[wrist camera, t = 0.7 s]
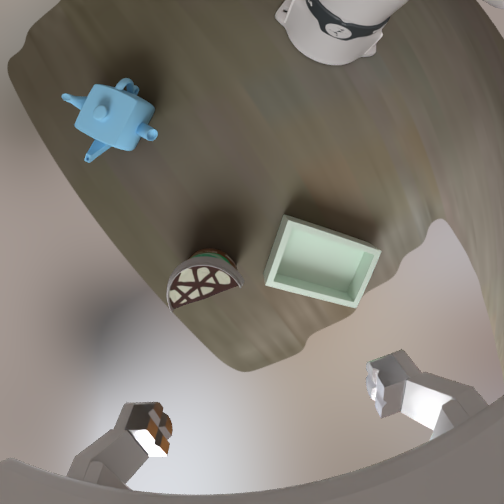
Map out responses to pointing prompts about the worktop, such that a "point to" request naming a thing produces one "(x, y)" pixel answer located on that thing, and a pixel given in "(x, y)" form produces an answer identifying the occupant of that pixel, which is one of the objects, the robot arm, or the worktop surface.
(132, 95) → the teapot
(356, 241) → the crate
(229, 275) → the food container
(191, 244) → the worktop surface
